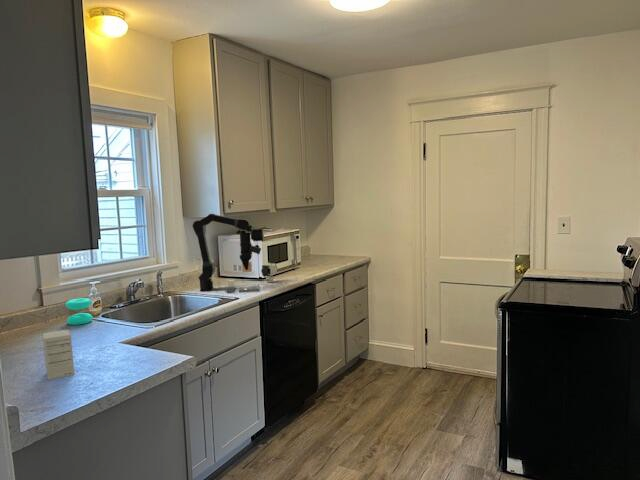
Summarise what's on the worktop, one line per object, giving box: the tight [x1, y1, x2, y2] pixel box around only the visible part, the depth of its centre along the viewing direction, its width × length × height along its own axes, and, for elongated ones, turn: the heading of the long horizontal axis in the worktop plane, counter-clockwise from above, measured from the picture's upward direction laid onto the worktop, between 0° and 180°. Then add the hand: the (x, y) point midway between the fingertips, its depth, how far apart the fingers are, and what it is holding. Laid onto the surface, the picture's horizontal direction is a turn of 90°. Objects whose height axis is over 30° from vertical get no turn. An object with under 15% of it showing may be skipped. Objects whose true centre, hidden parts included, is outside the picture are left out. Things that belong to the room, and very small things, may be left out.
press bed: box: [238, 286, 259, 293], centre depth 263 cm, size 10×8×1 cm
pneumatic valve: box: [260, 262, 278, 284], centre depth 284 cm, size 6×12×12 cm, turn 157°
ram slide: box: [227, 279, 235, 287], centre depth 269 cm, size 3×3×4 cm
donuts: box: [65, 297, 94, 326], centre depth 206 cm, size 10×10×10 cm
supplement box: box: [42, 329, 75, 381], centre depth 144 cm, size 7×7×13 cm
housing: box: [241, 261, 253, 273], centre depth 267 cm, size 5×5×6 cm
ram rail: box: [225, 285, 236, 294], centre depth 265 cm, size 3×14×3 cm, turn 5°
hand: (246, 269), depth 267 cm, fingers closed on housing, 5 cm apart
